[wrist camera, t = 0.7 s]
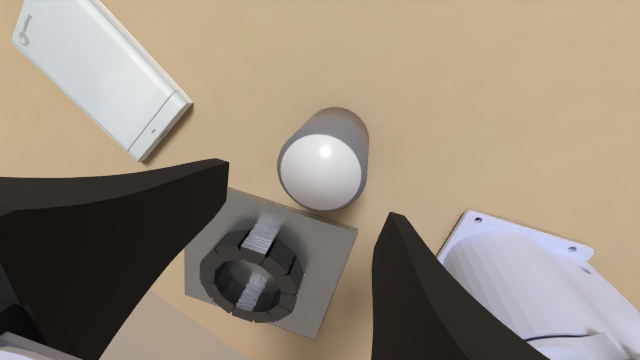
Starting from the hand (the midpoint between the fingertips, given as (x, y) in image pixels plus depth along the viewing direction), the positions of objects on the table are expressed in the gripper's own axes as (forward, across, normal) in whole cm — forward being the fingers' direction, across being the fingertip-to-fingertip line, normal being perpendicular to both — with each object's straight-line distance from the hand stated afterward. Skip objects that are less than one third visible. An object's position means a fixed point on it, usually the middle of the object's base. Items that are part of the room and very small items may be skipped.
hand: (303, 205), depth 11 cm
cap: (+9, 0, 0) cm, 9 cm away
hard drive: (+10, +19, 0) cm, 21 cm away
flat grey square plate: (+9, +4, +15) cm, 18 cm away
